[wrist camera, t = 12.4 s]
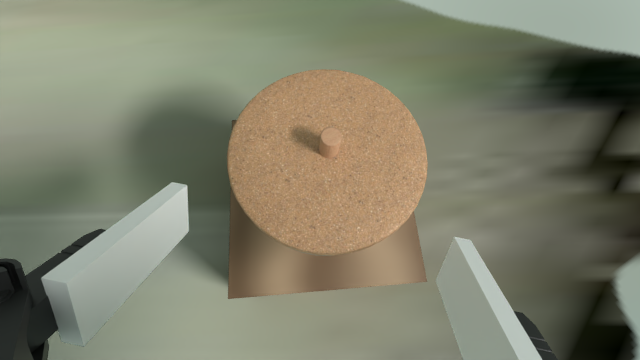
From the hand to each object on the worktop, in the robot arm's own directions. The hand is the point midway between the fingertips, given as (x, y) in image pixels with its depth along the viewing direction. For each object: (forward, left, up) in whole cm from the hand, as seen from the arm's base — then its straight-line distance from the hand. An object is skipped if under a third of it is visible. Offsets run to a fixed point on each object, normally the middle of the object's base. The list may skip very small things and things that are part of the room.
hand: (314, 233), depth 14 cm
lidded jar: (0, -4, -8) cm, 9 cm away
